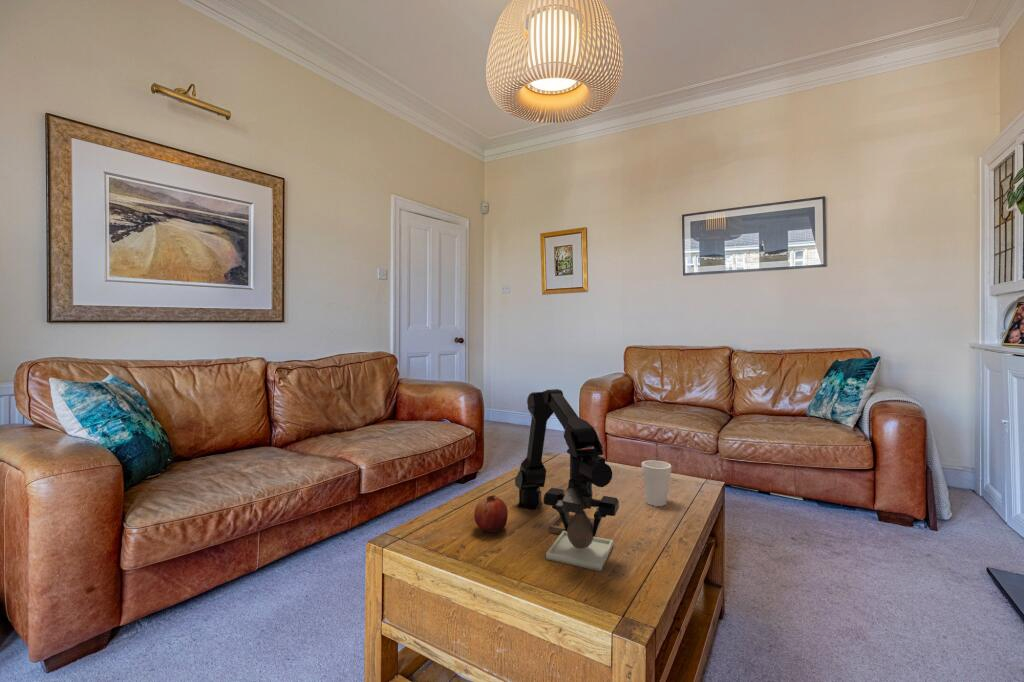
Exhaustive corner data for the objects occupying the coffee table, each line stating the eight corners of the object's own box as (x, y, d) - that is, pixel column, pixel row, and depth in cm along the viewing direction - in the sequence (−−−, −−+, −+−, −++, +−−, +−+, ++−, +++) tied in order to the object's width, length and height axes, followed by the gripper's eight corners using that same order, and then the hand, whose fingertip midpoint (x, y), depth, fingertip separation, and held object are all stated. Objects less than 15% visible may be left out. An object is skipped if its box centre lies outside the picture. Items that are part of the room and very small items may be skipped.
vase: (593, 552, 113) (593, 518, 113) (566, 550, 115) (566, 516, 114) (594, 540, 120) (594, 507, 120) (568, 537, 121) (568, 505, 121)
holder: (548, 532, 129) (548, 526, 129) (560, 517, 139) (560, 511, 139) (586, 539, 124) (586, 533, 124) (595, 524, 134) (595, 518, 134)
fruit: (501, 541, 124) (501, 505, 123) (468, 535, 127) (468, 500, 126) (513, 525, 134) (513, 491, 133) (482, 520, 137) (482, 488, 137)
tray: (546, 559, 114) (546, 553, 114) (563, 536, 127) (563, 530, 126) (601, 571, 108) (601, 565, 108) (613, 545, 121) (613, 540, 121)
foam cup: (639, 505, 148) (640, 466, 148) (642, 496, 157) (643, 459, 157) (670, 510, 145) (670, 470, 144) (671, 500, 153) (672, 462, 153)
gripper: (536, 478, 113) (535, 539, 114) (610, 489, 106) (609, 555, 106) (550, 466, 123) (550, 522, 124) (619, 475, 116) (619, 535, 116)
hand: (580, 533), depth 117 cm, fingers closed on vase, 7 cm apart
